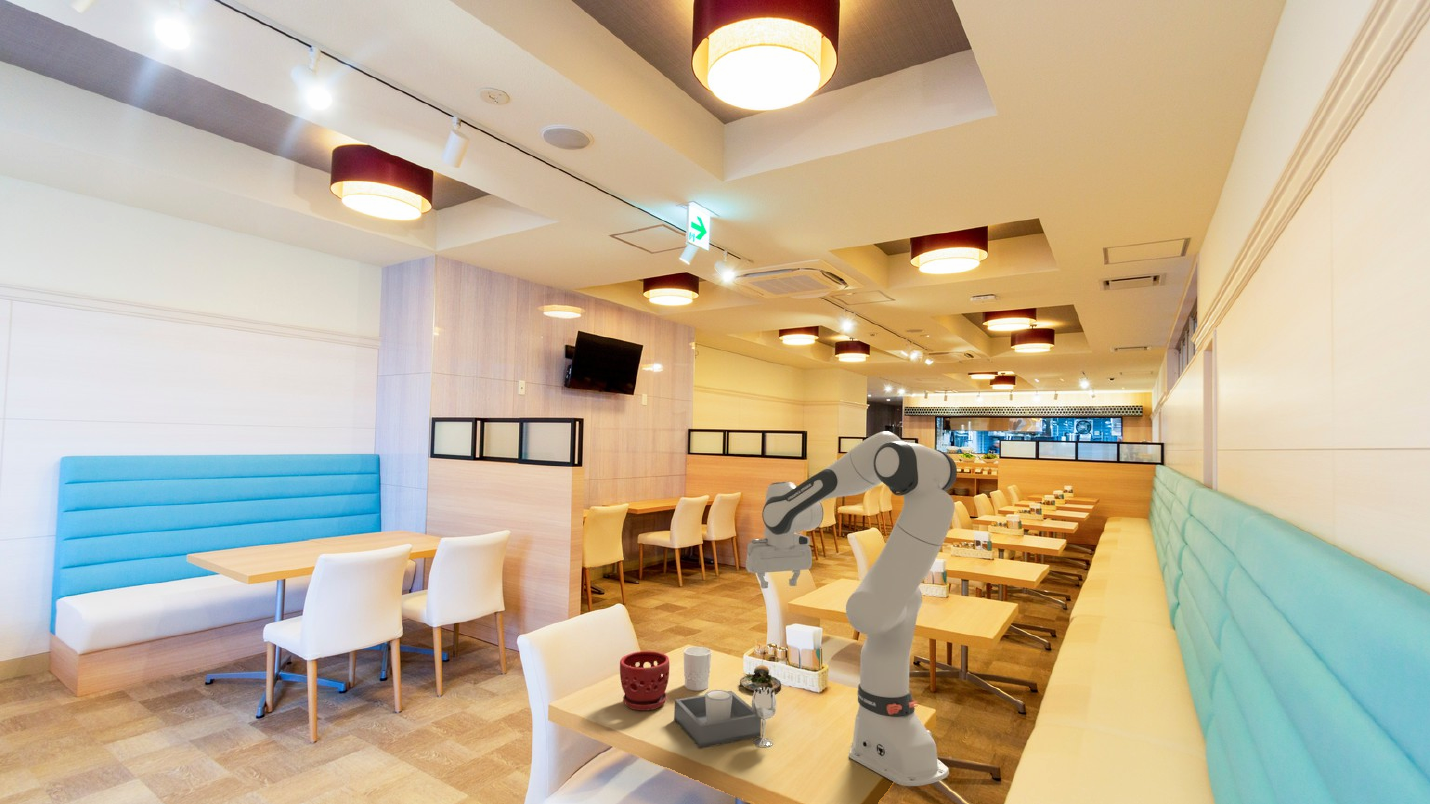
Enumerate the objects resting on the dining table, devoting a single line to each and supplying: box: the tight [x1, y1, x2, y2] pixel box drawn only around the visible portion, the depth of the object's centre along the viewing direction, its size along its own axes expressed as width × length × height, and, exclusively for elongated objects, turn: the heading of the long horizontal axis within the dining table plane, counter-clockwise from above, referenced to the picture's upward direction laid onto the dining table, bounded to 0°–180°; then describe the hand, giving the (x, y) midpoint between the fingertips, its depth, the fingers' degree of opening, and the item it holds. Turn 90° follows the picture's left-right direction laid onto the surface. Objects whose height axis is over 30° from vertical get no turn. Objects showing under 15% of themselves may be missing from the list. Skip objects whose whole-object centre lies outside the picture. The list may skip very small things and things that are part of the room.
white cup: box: [683, 646, 712, 692], centre depth 186 cm, size 8×8×10 cm
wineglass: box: [751, 687, 777, 748], centre depth 153 cm, size 6×6×12 cm
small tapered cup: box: [704, 689, 733, 723], centre depth 160 cm, size 7×7×7 cm
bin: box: [673, 690, 762, 749], centre depth 160 cm, size 16×16×5 cm
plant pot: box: [619, 650, 670, 711], centre depth 173 cm, size 13×13×12 cm
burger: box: [739, 659, 782, 692], centre depth 187 cm, size 12×12×8 cm
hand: (778, 586), depth 186 cm, fingers open, 8 cm apart
